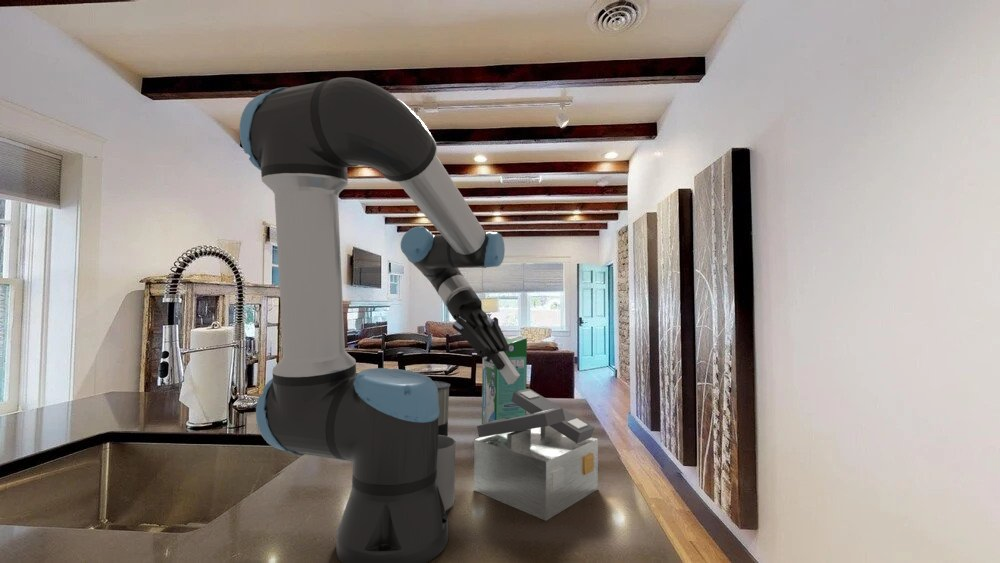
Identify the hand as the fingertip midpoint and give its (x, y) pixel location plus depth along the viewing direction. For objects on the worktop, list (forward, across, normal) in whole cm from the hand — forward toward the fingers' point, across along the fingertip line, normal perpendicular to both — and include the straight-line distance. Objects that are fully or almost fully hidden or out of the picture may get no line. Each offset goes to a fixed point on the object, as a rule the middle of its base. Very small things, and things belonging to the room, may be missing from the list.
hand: (514, 379), depth 88 cm
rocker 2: (+10, 0, +3) cm, 11 cm away
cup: (+12, +21, -14) cm, 28 cm away
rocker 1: (+11, +10, +2) cm, 15 cm away
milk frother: (-4, +7, -30) cm, 32 cm away
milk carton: (-1, -19, -27) cm, 33 cm away
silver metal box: (+19, +5, -6) cm, 21 cm away
